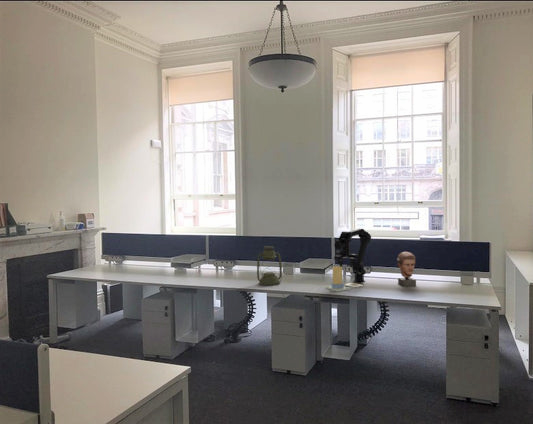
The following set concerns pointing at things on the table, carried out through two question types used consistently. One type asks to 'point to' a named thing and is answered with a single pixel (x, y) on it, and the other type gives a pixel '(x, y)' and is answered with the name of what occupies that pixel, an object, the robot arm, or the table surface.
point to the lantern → (269, 277)
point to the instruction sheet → (353, 284)
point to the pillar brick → (337, 275)
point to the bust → (406, 268)
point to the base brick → (337, 286)
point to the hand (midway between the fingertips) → (346, 268)
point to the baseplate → (337, 289)
